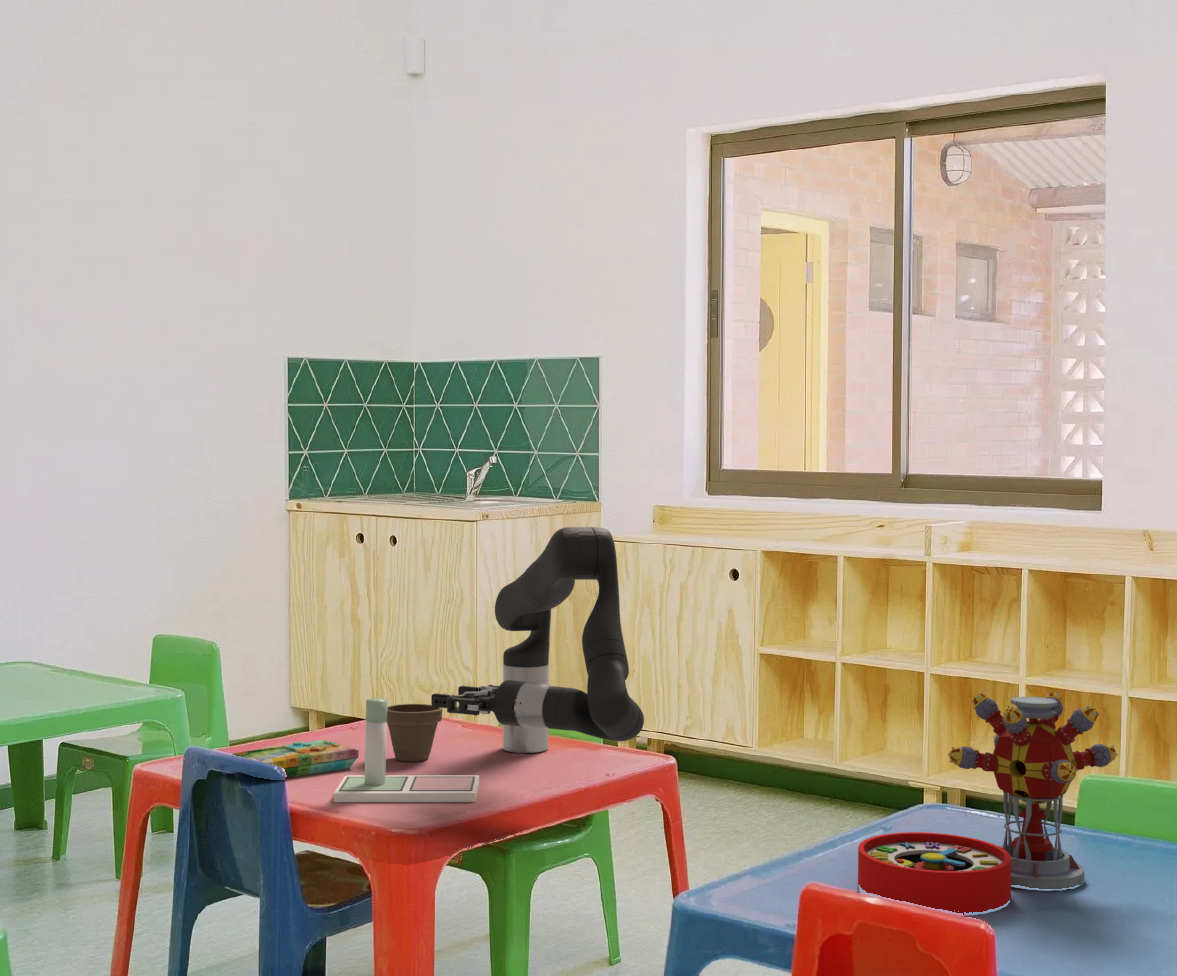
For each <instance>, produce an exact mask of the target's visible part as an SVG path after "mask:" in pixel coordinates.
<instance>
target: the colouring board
mask: <svg viewBox="0 0 1177 976" xmlns="http://www.w3.org/2000/svg"><path fill="white" fill-rule="evenodd" d="M364 781H365V774H364V775H363V774H362V775H359V774H358V775H349V774H347V775H346V774H345V775H344V777H343V778H342V780H341V781H340V783H339V785H338V786H337V788H336V789H335V791H334V792H333V803H476V800H477V795H478V790H479V787H480V786H479V785H480V774H479V775H478V774H469V775H467V774H465V775H464V774H463V775H461V774H458V775H457V774H455V775H454V774H450V775H449V774H447V775H446V774H445V775H444V774H443V775H441V774H440V775H438V774H437V775H436V774H433V775H432V774H429V775H427V774H426V775H424V774H422V775H420V774H417V775H413V774H412V775H410V774H409V775H408V774H407V775H406V774H405V775H401V774H400V775H399V774H398V775H395V774H391V775H389V774H387V775H386V774H385V784H384V785H378V786H371V785H366V784H364Z"/></svg>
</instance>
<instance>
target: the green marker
mask: <svg viewBox="0 0 1177 976" xmlns="http://www.w3.org/2000/svg"><path fill="white" fill-rule="evenodd" d="M365 701H366V702H365V742H364V743H365V748H364V749H365V750H364V752H365V753H364V775H365V781H364V784H366V785H371V786H378V785H384V784H385V775H386V772H387V771H386V770H387V769H386V768H387V767H386V766H387V765H386V764H387V733H388V732H387V731H388V730H387V727H388V724H387V707H388V702H389V701H388V699H386V698H380V697H378V698H376V697H375V698H368V699H366V700H365Z"/></svg>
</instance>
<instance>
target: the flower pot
mask: <svg viewBox="0 0 1177 976" xmlns="http://www.w3.org/2000/svg"><path fill="white" fill-rule="evenodd" d="M441 721H443V708H440V707H433V706H432V704H428V703H427V704H425V703H404V704H402V703H401V704H392V705H389V706H388V705H387V727H388V731H389V736H390V741H391V745H392V751H393V753H394V757H395V759H396V761H397V760H398V761H400V762H409V763H412V762H423V761H426V760H428V759H429V758H430V754H431V751H432V748H433V743H434V740H435V739H434V738H435V734H436V730H437V728H438V727H437V726H438V725H439V722H441Z"/></svg>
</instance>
